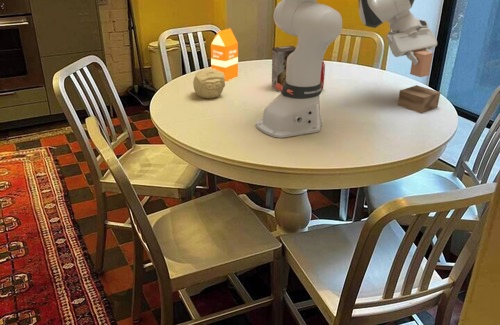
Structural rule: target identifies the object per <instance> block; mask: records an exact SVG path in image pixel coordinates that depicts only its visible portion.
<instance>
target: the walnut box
mask: <svg viewBox="0 0 500 325" xmlns="http://www.w3.org/2000/svg"><path fill="white" fill-rule="evenodd" d="M440 96H441V92H440V91H438V90H433V89H431V88H428V87H424V86H420V85H417V84H416V85H413V86H411V87H407V88H403V89H400V90H399V94H398V102H397V106H398V107H401V108H404V109H407V110H410V111H413V112H415V113H418V114H423V113H427V112H429V111H432V110H434V109H438V107H439V106H438V105H439V101H440Z"/></svg>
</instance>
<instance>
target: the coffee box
mask: <svg viewBox="0 0 500 325" xmlns="http://www.w3.org/2000/svg"><path fill="white" fill-rule="evenodd" d="M296 47H297V46H294V45H288V46H279V47H272V50H271V52H272V54H271V58H272V59H271V60H272V61H271V88H272V89H273V90H275V91H276V92H280V91H279V90H277V89H276V88H275V85H276V84H277V83H279V84H281V85H283V84H284V82H285V80H286V67H287V58H288V56H289V55H290V54H291V53H292V52H294V51H295V49H296Z"/></svg>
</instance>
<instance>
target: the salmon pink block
mask: <svg viewBox="0 0 500 325" xmlns="http://www.w3.org/2000/svg"><path fill="white" fill-rule="evenodd" d="M413 53H414V54H413V55H414V56H415V57H416V58H418V59H419V60H420V63H418V64H416V65H414V64H413V62H412V61H411V66H410V72H409V75H412V76H415V77H419V78H424V77H427V76H429V75H430V71H431V66H432V60H433V54H434V52H432V51H430V52H428V51H424V50H420V51H416V52H413Z"/></svg>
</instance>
